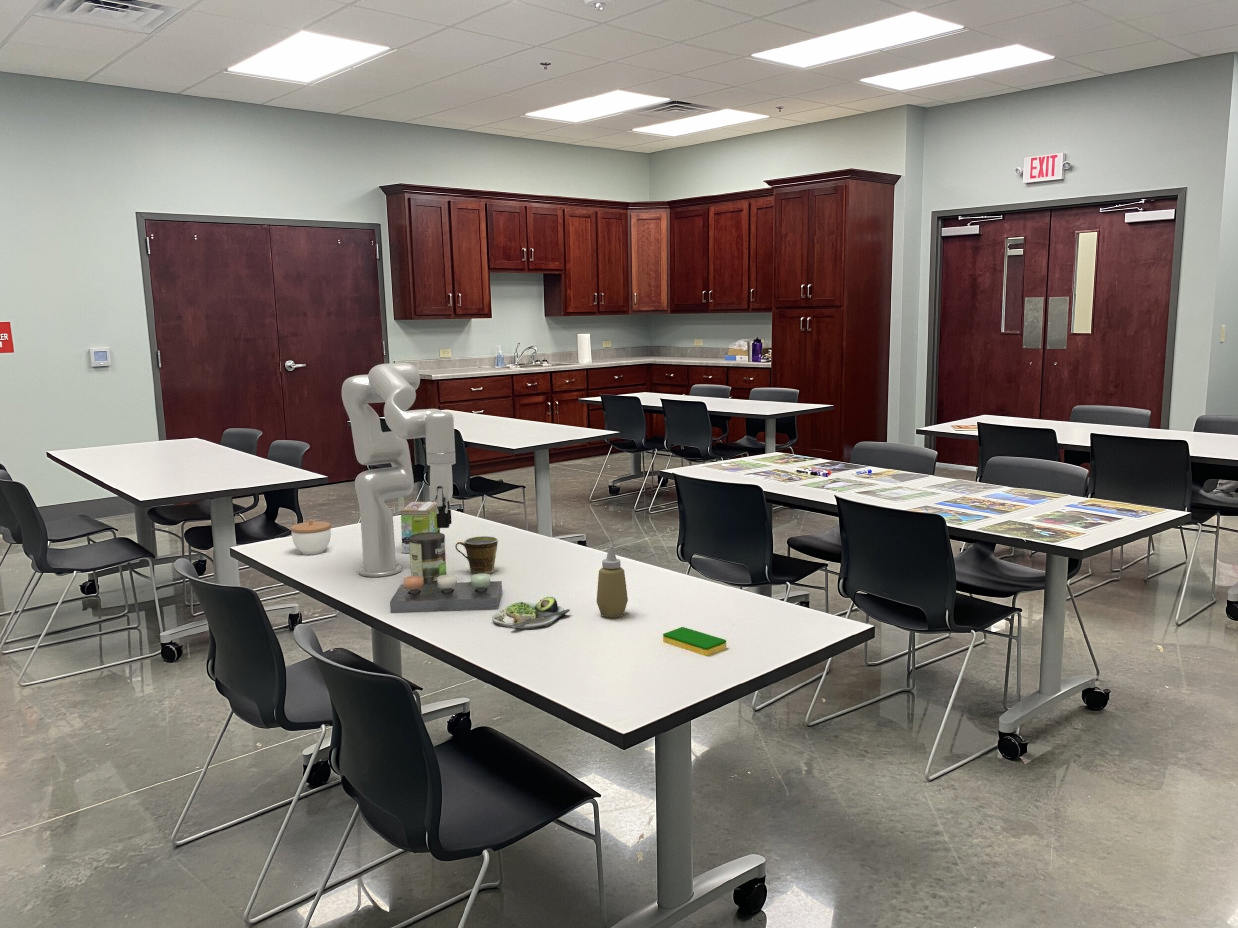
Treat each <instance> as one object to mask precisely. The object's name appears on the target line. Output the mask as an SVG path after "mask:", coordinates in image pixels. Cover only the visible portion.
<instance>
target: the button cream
mask: <svg viewBox="0 0 1238 928" xmlns="http://www.w3.org/2000/svg"><path fill="white" fill-rule="evenodd" d="M437 582H438V587H439V588H443V593H452V588H453V587H456V586H457V583H458V577H457V575H456V574H446V575H441V576H439V577H437Z"/></svg>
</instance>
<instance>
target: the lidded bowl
mask: <svg viewBox="0 0 1238 928" xmlns="http://www.w3.org/2000/svg"><path fill="white" fill-rule="evenodd" d="M331 525H332V524H331V523H330V522H328V521H322V520H321V521H319V520H318V521H314V520H313V519H308V521H305V522H300V523H296V524H294V525H292V526H290V531H291V537H292V542H293V545H294V547H295V548H296V549H297V550H298V551H300V553H301V554H302V555H306V556H307V555H308V556H309V555H319V554H321V553H324V552H325V550H326V549H327V548H328V546H329V544H330V542H331V537H332V535H331V534H332V533H331V532H332V531H331V528H332V526H331Z"/></svg>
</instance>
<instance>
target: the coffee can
mask: <svg viewBox="0 0 1238 928" xmlns="http://www.w3.org/2000/svg"><path fill="white" fill-rule="evenodd" d="M445 538H446V535H445V534H444V533H443V532H442V533H441V532H440V533H437V532H426V533H418V534H414V535H411V536H409V544H410V553H409V558H410V576H422V577H423V581H424V584H429V583H438V582H437V577H439V576H441V575H447V562H446V561H447V560H446V559H447V558H446V539H445Z"/></svg>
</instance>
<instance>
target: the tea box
mask: <svg viewBox="0 0 1238 928" xmlns="http://www.w3.org/2000/svg"><path fill="white" fill-rule="evenodd" d="M436 513H437V506H436V501H434V502H433V503H432V502H431V501H411V502H409V503H408V504H407V505H406V506H404V507H403V508H401V510H400V520H401V521H400V524H401V526H400V527H401V529H400V531H401V532H400V533H401V551H402V553H403V554H410V544H409V536H411V535H414V534H418V533H426V532H437V533H441V528H437V516H436Z"/></svg>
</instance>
